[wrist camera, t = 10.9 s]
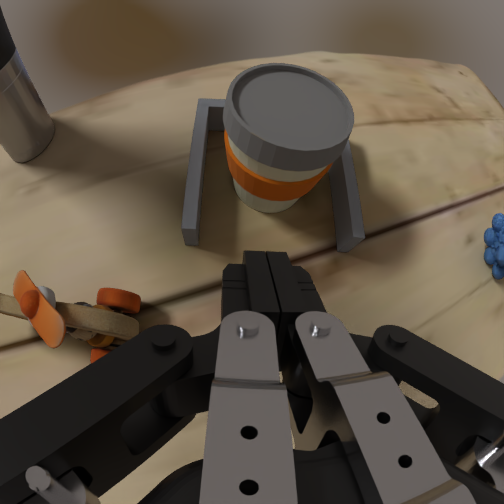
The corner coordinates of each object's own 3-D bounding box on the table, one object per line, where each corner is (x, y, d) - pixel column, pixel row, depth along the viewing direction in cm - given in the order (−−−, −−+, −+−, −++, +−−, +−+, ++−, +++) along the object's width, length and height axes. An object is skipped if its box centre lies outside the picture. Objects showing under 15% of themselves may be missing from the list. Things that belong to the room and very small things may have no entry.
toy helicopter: (148, 371, 31) (106, 381, 18) (5, 339, 29) (-66, 324, 16) (154, 299, 34) (119, 266, 21) (13, 279, 32) (-52, 244, 19)
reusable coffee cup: (209, 153, 40) (210, 67, 26) (295, 139, 43) (324, 60, 29) (233, 236, 37) (246, 164, 23) (327, 214, 39) (379, 146, 25)
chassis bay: (348, 252, 38) (368, 235, 33) (185, 245, 36) (180, 225, 30) (331, 134, 44) (344, 109, 39) (199, 122, 42) (198, 94, 37)
